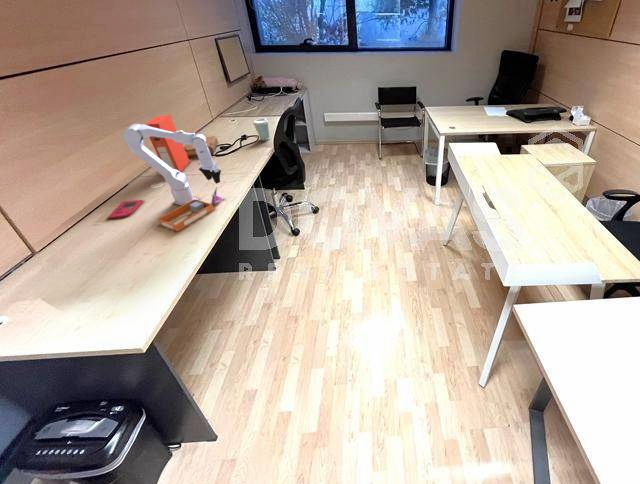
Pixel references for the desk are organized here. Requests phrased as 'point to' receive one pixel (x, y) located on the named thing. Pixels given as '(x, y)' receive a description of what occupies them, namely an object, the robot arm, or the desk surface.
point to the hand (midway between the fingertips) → (213, 181)
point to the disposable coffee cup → (262, 128)
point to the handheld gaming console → (125, 209)
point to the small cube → (196, 206)
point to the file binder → (168, 144)
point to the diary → (210, 143)
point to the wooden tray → (182, 211)
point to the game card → (216, 197)
